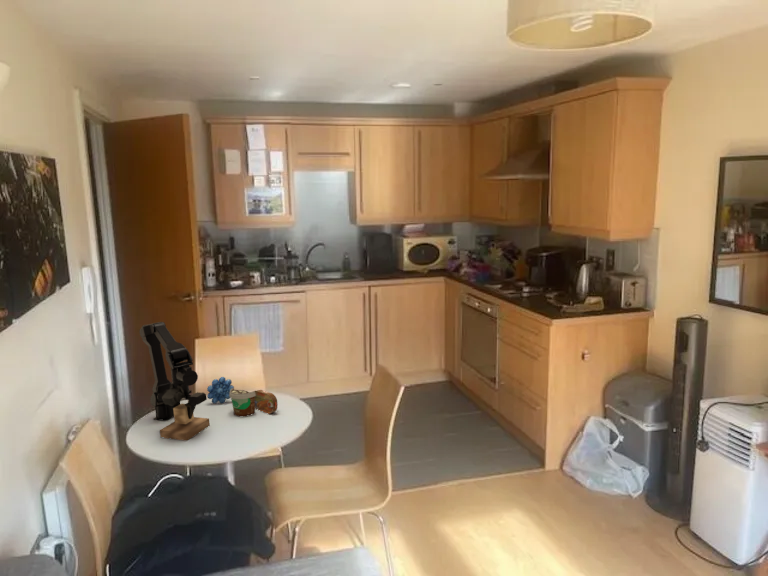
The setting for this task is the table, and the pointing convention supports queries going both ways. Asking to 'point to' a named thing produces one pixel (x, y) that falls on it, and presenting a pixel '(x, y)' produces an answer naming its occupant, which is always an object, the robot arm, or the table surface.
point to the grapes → (219, 390)
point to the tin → (265, 401)
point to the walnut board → (185, 429)
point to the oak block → (181, 414)
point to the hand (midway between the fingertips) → (184, 418)
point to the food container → (242, 402)
